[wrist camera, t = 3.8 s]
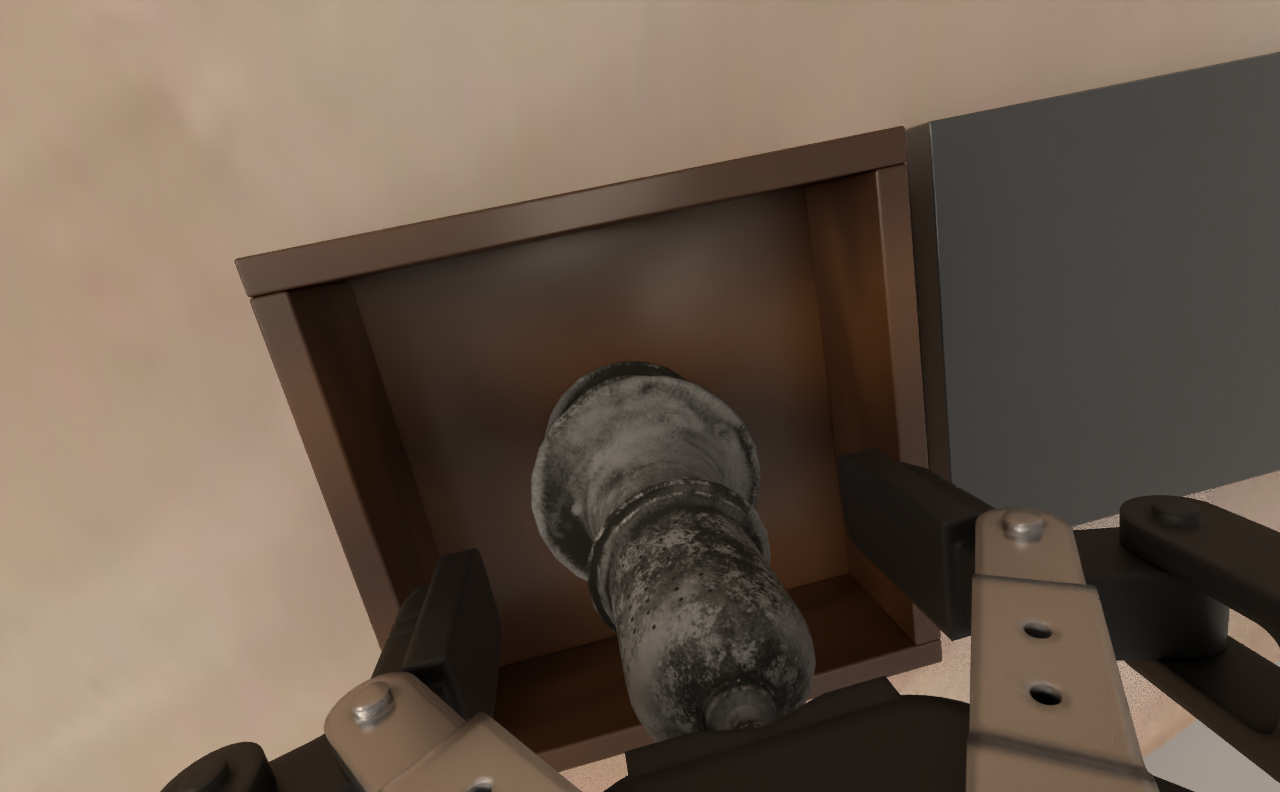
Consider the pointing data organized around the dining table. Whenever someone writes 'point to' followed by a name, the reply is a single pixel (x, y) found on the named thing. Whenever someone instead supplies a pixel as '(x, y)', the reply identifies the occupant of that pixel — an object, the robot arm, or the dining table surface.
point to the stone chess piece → (672, 548)
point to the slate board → (1103, 290)
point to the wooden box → (598, 336)
